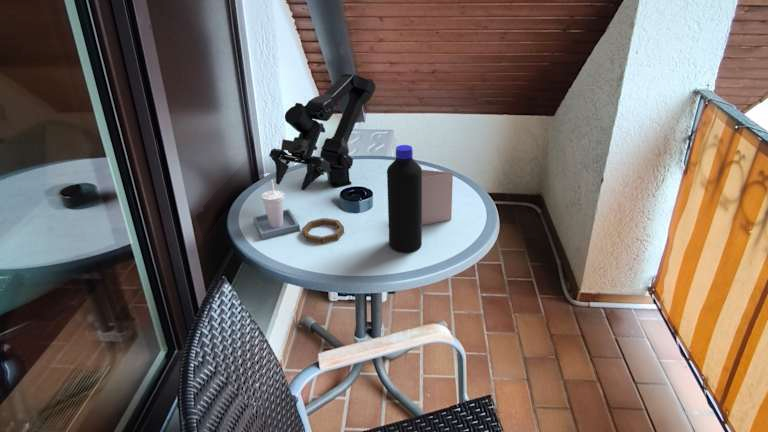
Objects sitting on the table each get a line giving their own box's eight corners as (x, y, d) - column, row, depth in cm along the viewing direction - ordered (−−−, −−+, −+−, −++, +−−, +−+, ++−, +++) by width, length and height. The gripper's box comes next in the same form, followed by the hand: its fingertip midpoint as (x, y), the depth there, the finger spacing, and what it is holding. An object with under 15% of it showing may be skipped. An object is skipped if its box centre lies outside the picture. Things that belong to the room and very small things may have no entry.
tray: (289, 214, 164) (288, 209, 163) (300, 230, 155) (299, 224, 154) (253, 223, 160) (252, 217, 159) (262, 240, 151) (261, 233, 150)
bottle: (425, 238, 149) (426, 143, 136) (416, 255, 142) (416, 156, 129) (395, 234, 152) (392, 140, 139) (384, 250, 145) (381, 152, 131)
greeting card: (451, 218, 159) (453, 171, 152) (446, 230, 153) (448, 182, 146) (414, 213, 162) (414, 167, 155) (407, 225, 156) (407, 178, 149)
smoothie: (292, 222, 158) (286, 178, 152) (277, 232, 154) (271, 187, 147) (275, 217, 161) (269, 174, 155) (260, 226, 157) (254, 182, 150)
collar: (335, 220, 160) (334, 215, 159) (348, 237, 151) (348, 232, 150) (299, 229, 156) (298, 223, 155) (310, 247, 147) (310, 241, 146)
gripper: (268, 122, 159) (249, 171, 156) (321, 131, 151) (301, 182, 148) (288, 139, 169) (270, 184, 166) (338, 148, 161) (320, 196, 158)
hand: (289, 186), depth 159 cm, fingers open, 9 cm apart
